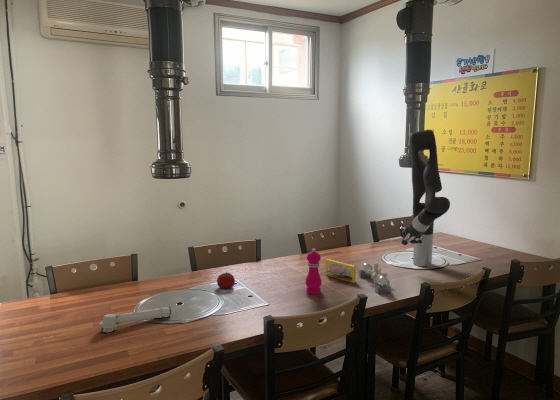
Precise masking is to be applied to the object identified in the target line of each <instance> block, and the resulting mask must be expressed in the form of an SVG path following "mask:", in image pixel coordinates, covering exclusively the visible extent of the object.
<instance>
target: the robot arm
mask: <svg viewBox="0 0 560 400" xmlns="http://www.w3.org/2000/svg"><path fill="white" fill-rule="evenodd" d="M408 138H409V150H410V157H411V184H412V217H413V220H412V221H411V222H410V223H409V224H408V225H407V226H404V225H401V226H400V228H399V233H400V236H401V238H402V240H401V245H402V246H407V245H408V244H409V243H410V244H411V245H413V253H412V255H413V256H412V263H413V265H415V266H417V267H418V266H419V267H423V266H428V267H431V266H432V265H433V247H434V245H433V244H434V243H433V242H434V223H435V220H437V219H438V218H440V217H442V216H444V215H445V214H446V213H447V212H448V211H449V209H450V207H451V201H450V199H449V198H447V197H445V196H437V195H436V194H437V193H440V192H441V191H442V189H443V185H442V181H441V180H442V179H441V176H440V175H441V174H440V172H439V170H440V169H439V161H438V159H439V158H438V153H437V152H438V151H437V149H438V148H437V142H436V141H437V140H436V135H435V133H434V131H433V130H432V129H423V130H418V131H414V132H411V133H410V134H409V137H408ZM421 151H429V155H428V160H427V162H426V163H425V162H424V161H423V159H422V158H421V156H420V155H419V152H421ZM424 195H425V196H424ZM423 197H425V198H424V202H420V201H421V200H422V198H423ZM430 265H431V266H430Z"/></svg>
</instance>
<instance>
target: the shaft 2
mask: <svg viewBox="0 0 560 400" xmlns="http://www.w3.org/2000/svg"><path fill="white" fill-rule="evenodd" d="M375 279H376V281H377V282H378V284H375V286H374V287H375V289H374V290H375V293H376V294H378V295H383V294H384V295H385V294H391V293H392V286H391V285H390V279H388V278H387V277H384V276H383V275H382V274H378V275H377V276H376V278H375Z"/></svg>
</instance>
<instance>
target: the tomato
mask: <svg viewBox="0 0 560 400" xmlns="http://www.w3.org/2000/svg"><path fill="white" fill-rule="evenodd" d="M216 283H217V287H219V289H225V288H229V289H231V288H234V285H235V283H236V280H235V276H234V275H233V274H232V273H230V272H227V271H226V272H223V273H221V274H219V276H218V277H217V280H216Z"/></svg>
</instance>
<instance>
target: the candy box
mask: <svg viewBox="0 0 560 400" xmlns="http://www.w3.org/2000/svg"><path fill="white" fill-rule="evenodd" d="M325 275H326V276H328V277H332V278H335V279H339V280H342V281H345V282H346V281H347V282H349V283H353V284H354V283H355V282H356V265H354V264H350V263H345V262H342V261H337V260H334V259H330V258H327V259H325Z"/></svg>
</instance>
